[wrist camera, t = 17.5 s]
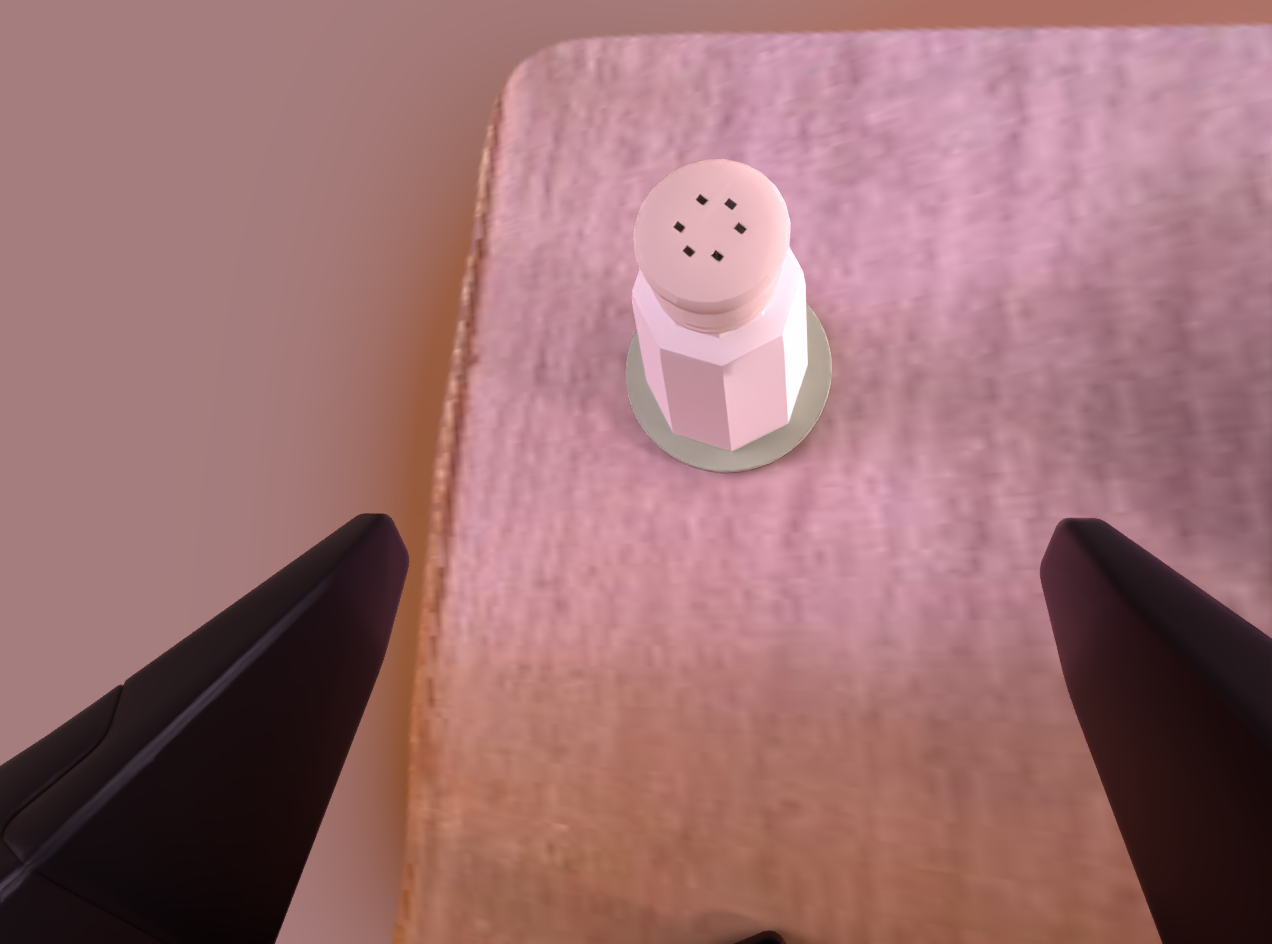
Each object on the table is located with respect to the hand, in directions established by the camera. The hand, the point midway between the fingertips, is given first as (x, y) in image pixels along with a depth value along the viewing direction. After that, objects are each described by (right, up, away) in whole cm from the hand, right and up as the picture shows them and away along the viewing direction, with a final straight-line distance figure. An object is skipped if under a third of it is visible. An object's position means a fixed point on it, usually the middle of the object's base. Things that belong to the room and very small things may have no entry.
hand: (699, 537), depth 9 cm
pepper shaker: (+2, +4, +13) cm, 14 cm away
